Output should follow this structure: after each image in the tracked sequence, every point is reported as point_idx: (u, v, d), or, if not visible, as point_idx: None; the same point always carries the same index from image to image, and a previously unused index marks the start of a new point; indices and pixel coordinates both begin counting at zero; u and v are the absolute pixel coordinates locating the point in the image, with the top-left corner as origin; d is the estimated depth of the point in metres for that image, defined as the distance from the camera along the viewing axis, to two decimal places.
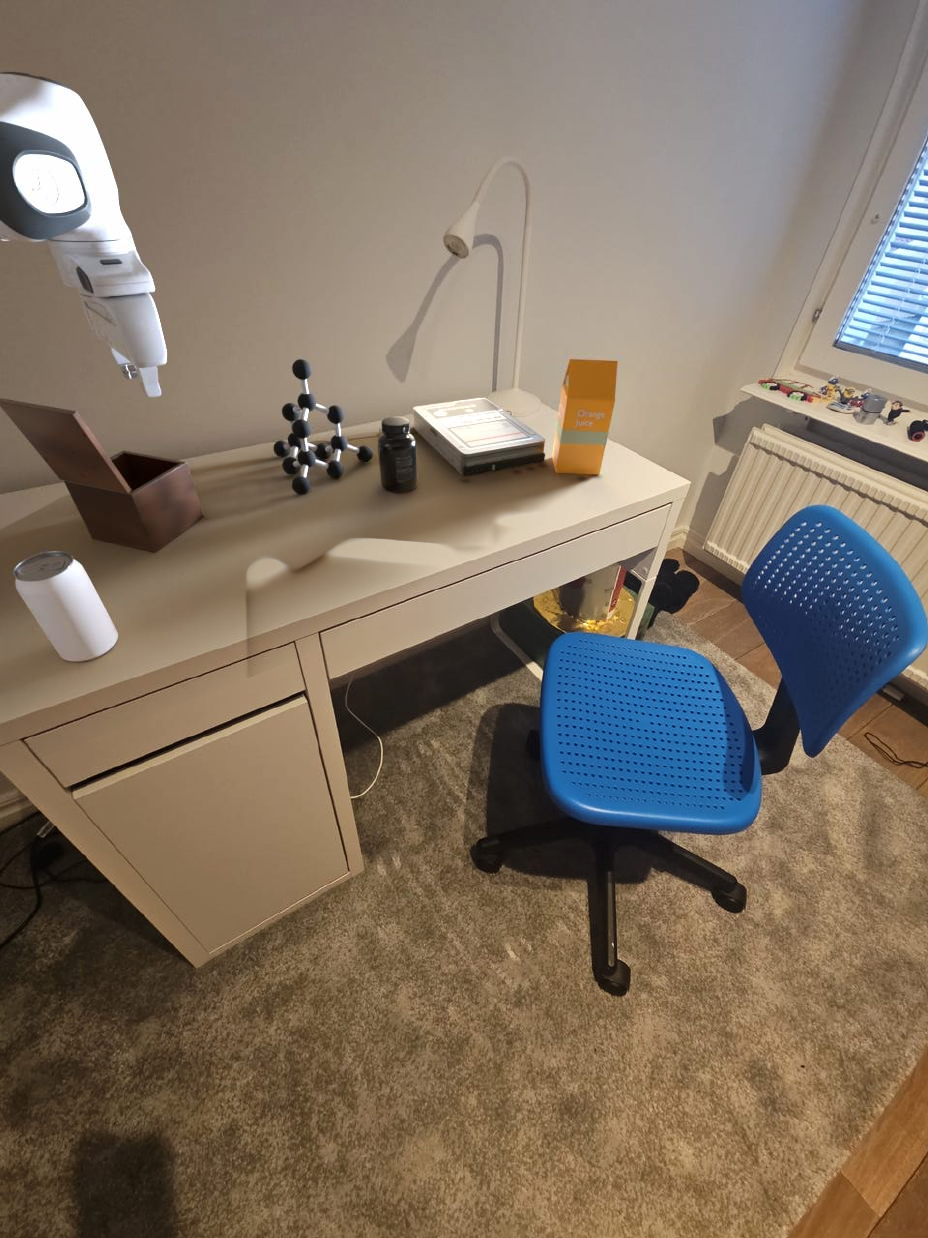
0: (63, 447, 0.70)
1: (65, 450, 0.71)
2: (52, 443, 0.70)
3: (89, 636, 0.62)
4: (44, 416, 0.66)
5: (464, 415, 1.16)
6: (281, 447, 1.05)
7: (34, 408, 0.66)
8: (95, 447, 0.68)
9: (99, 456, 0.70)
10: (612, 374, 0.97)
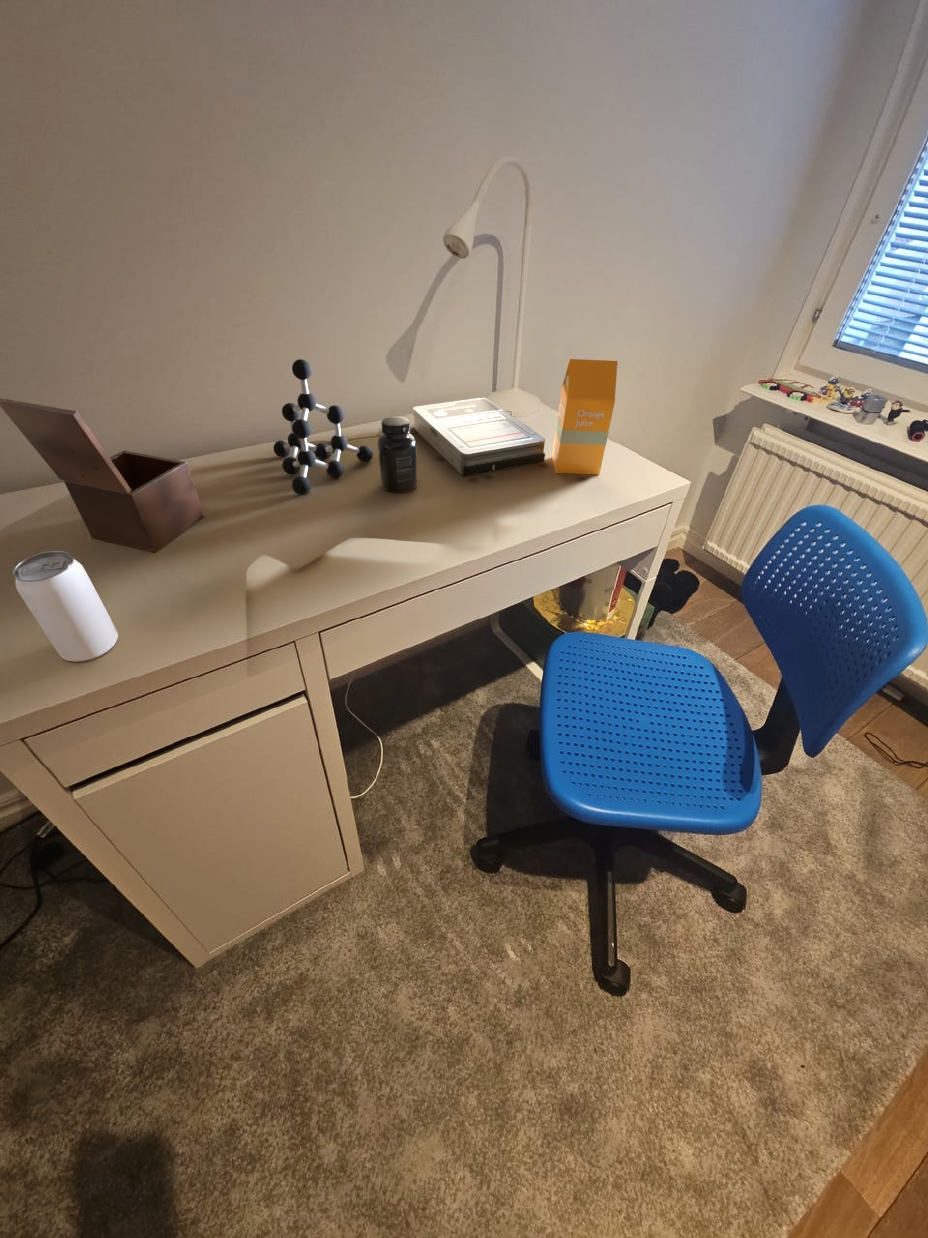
0: (63, 447, 0.70)
1: (65, 450, 0.71)
2: (52, 443, 0.70)
3: (89, 636, 0.62)
4: (44, 416, 0.66)
5: (464, 415, 1.16)
6: (281, 447, 1.05)
7: (34, 408, 0.66)
8: (95, 447, 0.68)
9: (99, 456, 0.70)
10: (612, 374, 0.97)
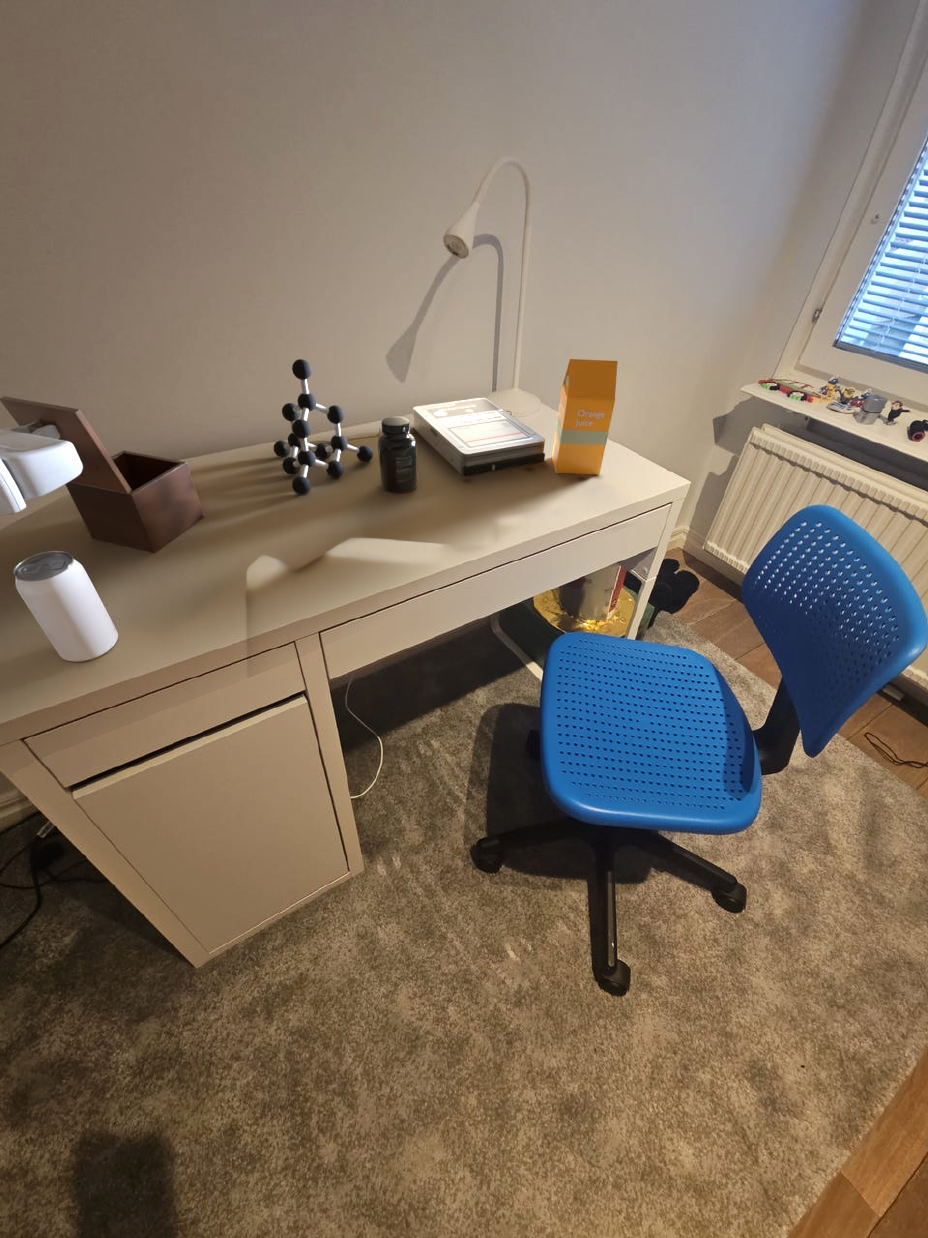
0: None
1: None
2: None
3: (89, 636, 0.62)
4: (46, 414, 0.67)
5: (464, 415, 1.16)
6: (281, 447, 1.05)
7: (37, 406, 0.66)
8: (96, 446, 0.69)
9: (100, 455, 0.70)
10: (612, 374, 0.97)
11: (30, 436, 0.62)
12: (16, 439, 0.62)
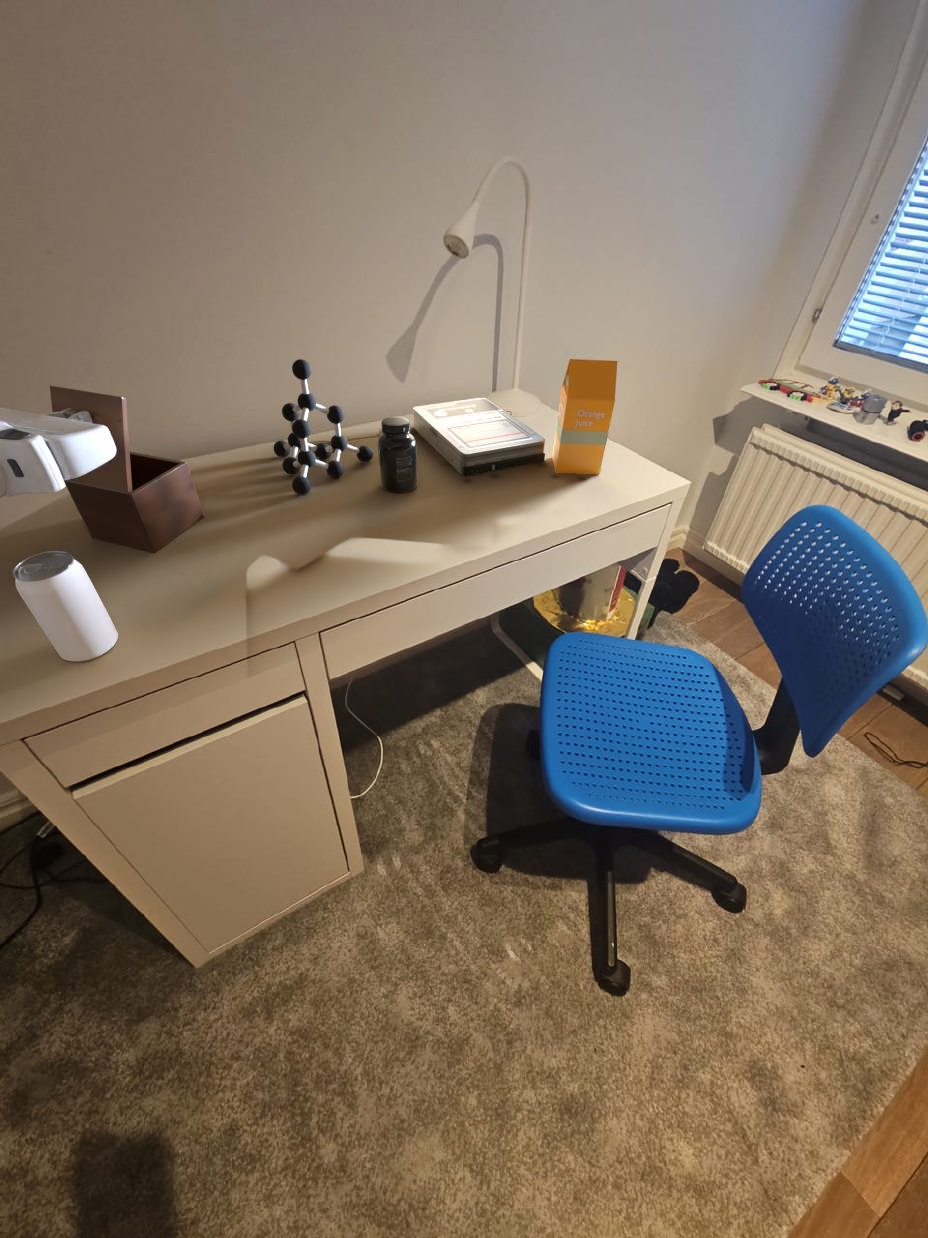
0: None
1: None
2: None
3: (89, 636, 0.62)
4: (90, 400, 0.72)
5: (464, 415, 1.16)
6: (281, 447, 1.05)
7: (85, 391, 0.71)
8: (123, 434, 0.72)
9: (121, 445, 0.72)
10: (612, 374, 0.97)
11: (67, 420, 0.66)
12: (54, 423, 0.65)
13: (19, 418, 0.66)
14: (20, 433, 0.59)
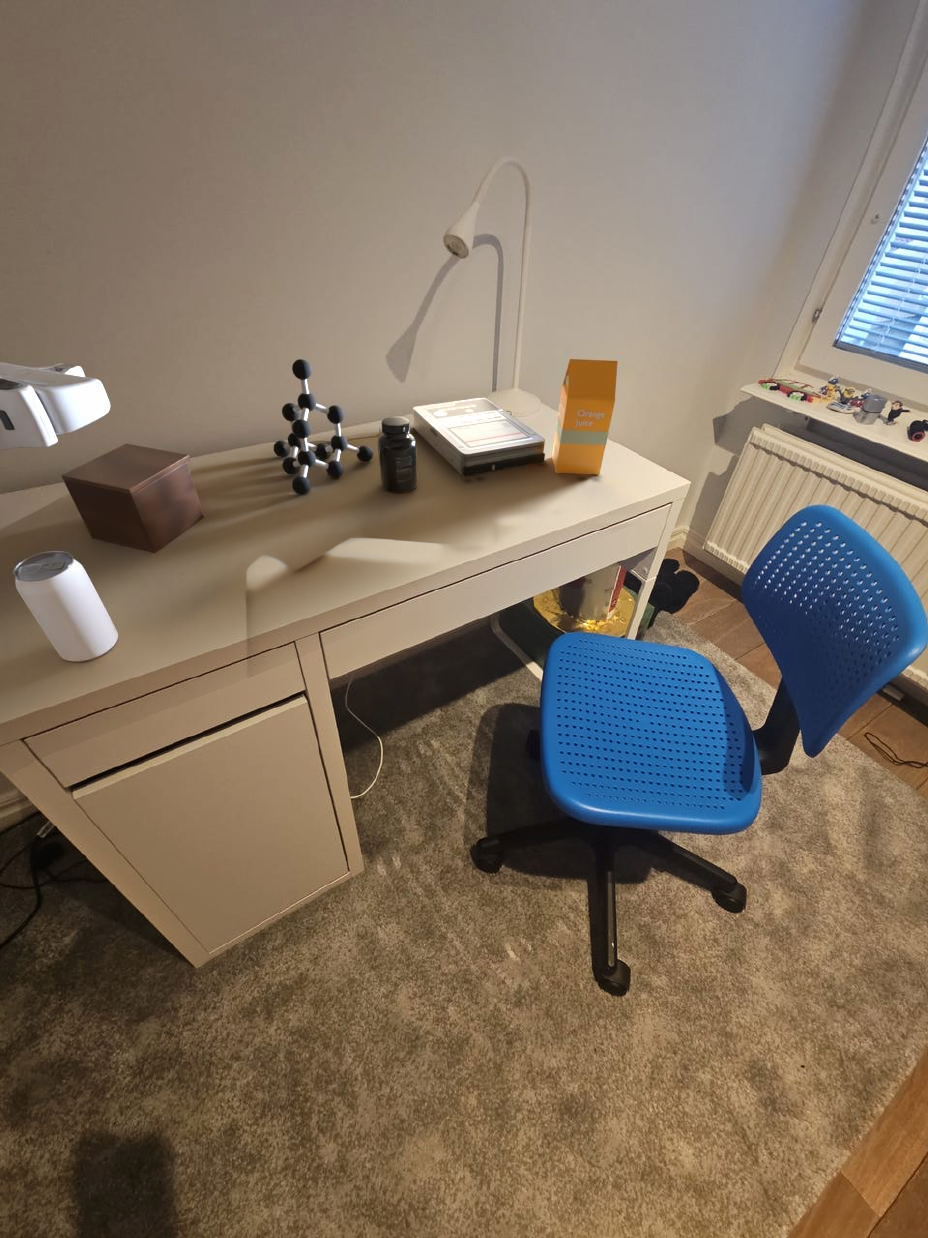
0: (129, 463, 0.80)
1: (126, 464, 0.80)
2: (122, 460, 0.81)
3: (89, 636, 0.62)
4: (156, 452, 0.84)
5: (464, 415, 1.16)
6: (281, 447, 1.05)
7: (157, 449, 0.85)
8: (166, 467, 0.80)
9: (158, 470, 0.79)
10: (612, 374, 0.97)
11: (59, 373, 0.64)
12: (45, 376, 0.63)
13: (9, 370, 0.64)
14: (10, 383, 0.57)
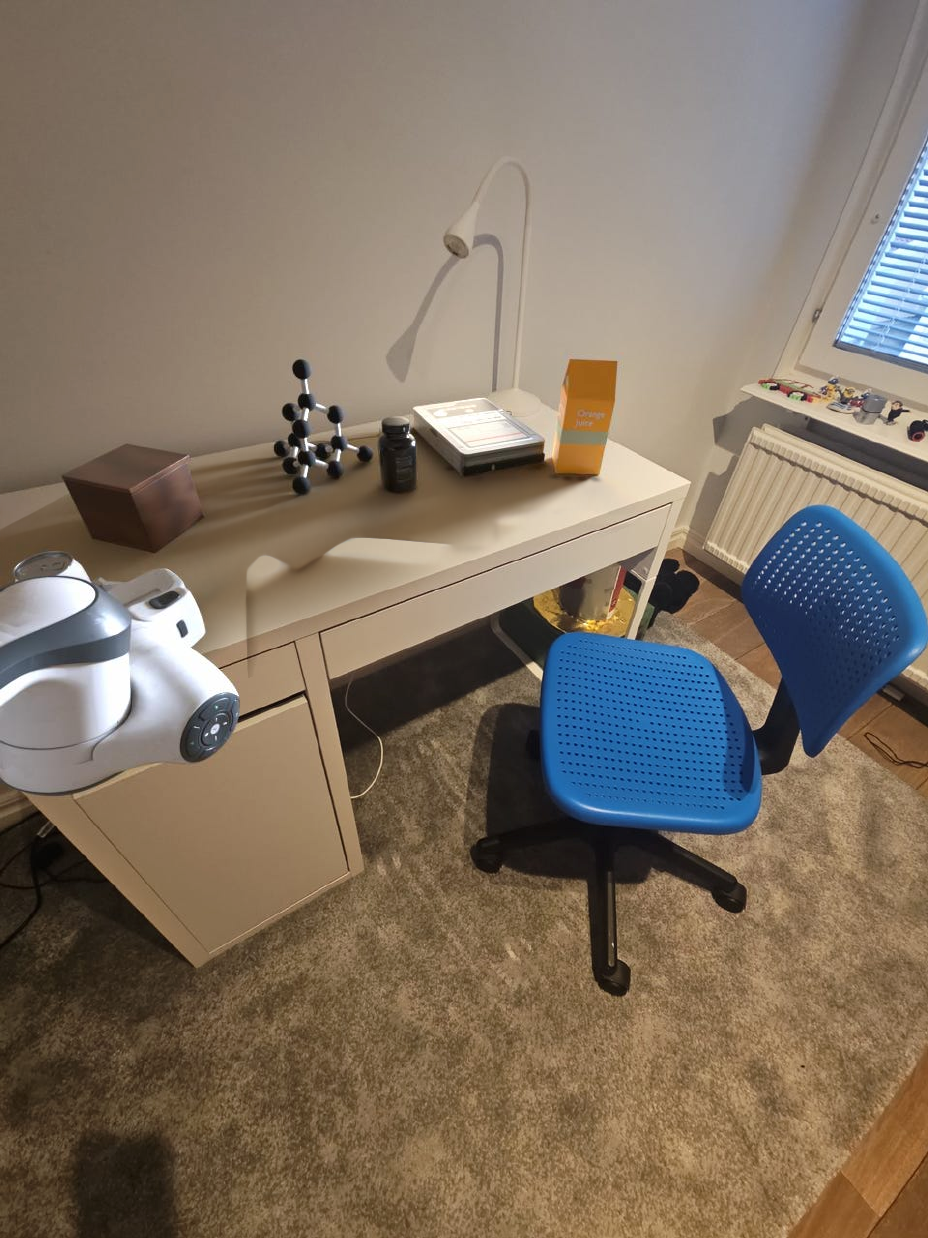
0: (129, 463, 0.80)
1: (126, 464, 0.80)
2: (122, 460, 0.81)
3: None
4: (156, 452, 0.84)
5: (464, 415, 1.16)
6: (281, 447, 1.05)
7: (157, 449, 0.85)
8: (166, 467, 0.80)
9: (158, 470, 0.79)
10: (612, 374, 0.97)
11: (117, 588, 0.61)
12: (116, 596, 0.60)
13: None
14: (165, 596, 0.58)
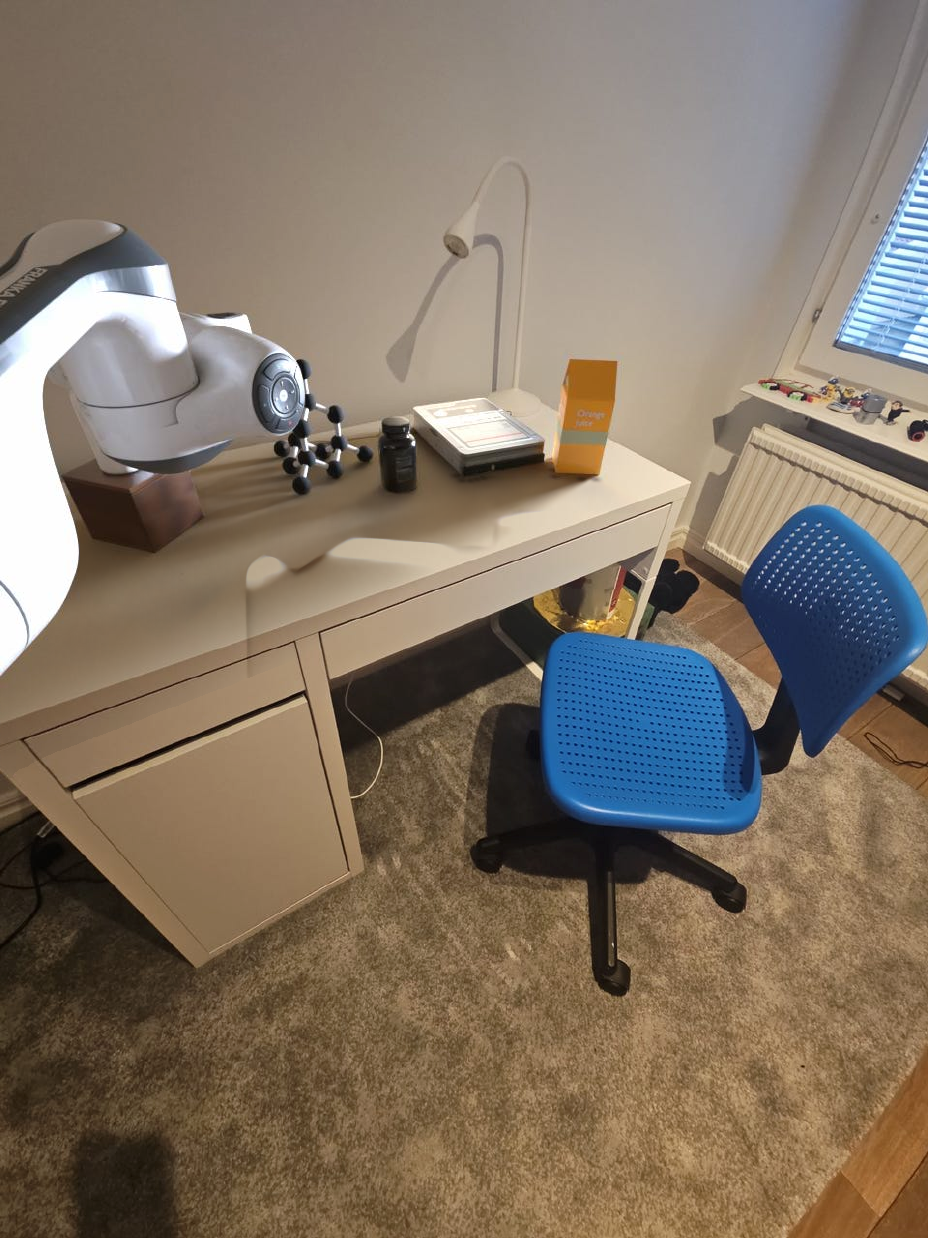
0: None
1: None
2: None
3: None
4: None
5: (464, 415, 1.16)
6: (281, 447, 1.05)
7: None
8: None
9: None
10: (612, 374, 0.97)
11: None
12: None
13: None
14: (223, 314, 0.58)
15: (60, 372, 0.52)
